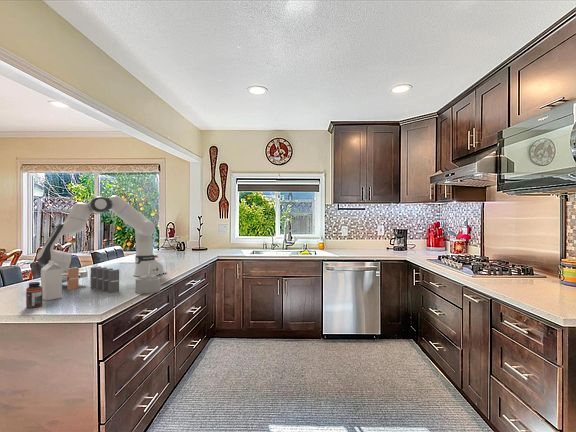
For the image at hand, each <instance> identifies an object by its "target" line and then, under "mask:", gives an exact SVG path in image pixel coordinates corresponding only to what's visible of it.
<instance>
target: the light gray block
mask: <svg viewBox="0 0 576 432" xmlns="http://www.w3.org/2000/svg"><path fill="white" fill-rule="evenodd" d="M161 281H162V280H161V277H159V276H158V275H151V276H148V275H144V276H138V277H137V278H136V279H135V293H137V292H140V293H139V294H156V293H159V292H161V288H162V287H161Z"/></svg>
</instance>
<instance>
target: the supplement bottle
mask: <svg viewBox="0 0 576 432" xmlns="http://www.w3.org/2000/svg"><path fill="white" fill-rule="evenodd" d="M25 290H26V291H25V293H26V294H25V296H26V297H25V298H26V299H25V306H26V307H25V308H27V309H36V308H40V307H42V306H43V299H42V287H41V281H31V282H29V283H28V287H27V288H26V289H25Z"/></svg>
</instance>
